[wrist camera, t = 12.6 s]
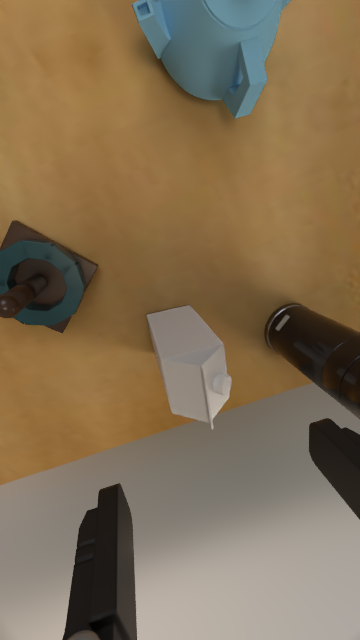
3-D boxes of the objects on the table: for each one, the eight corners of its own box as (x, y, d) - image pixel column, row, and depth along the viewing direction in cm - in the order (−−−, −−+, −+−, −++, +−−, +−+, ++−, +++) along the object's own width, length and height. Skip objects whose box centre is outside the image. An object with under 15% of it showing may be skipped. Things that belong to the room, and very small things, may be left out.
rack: (98, 265, 37) (88, 286, 25) (64, 329, 39) (38, 380, 27) (16, 220, 33) (-45, 219, 21) (-17, 294, 35) (-91, 334, 23)
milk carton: (154, 353, 44) (179, 439, 26) (145, 314, 41) (166, 381, 24) (195, 343, 45) (245, 420, 27) (189, 304, 42) (240, 361, 25)
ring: (100, 266, 36) (98, 269, 33) (64, 331, 38) (60, 339, 35) (18, 221, 32) (9, 221, 29) (-17, 296, 34) (-28, 302, 31)
